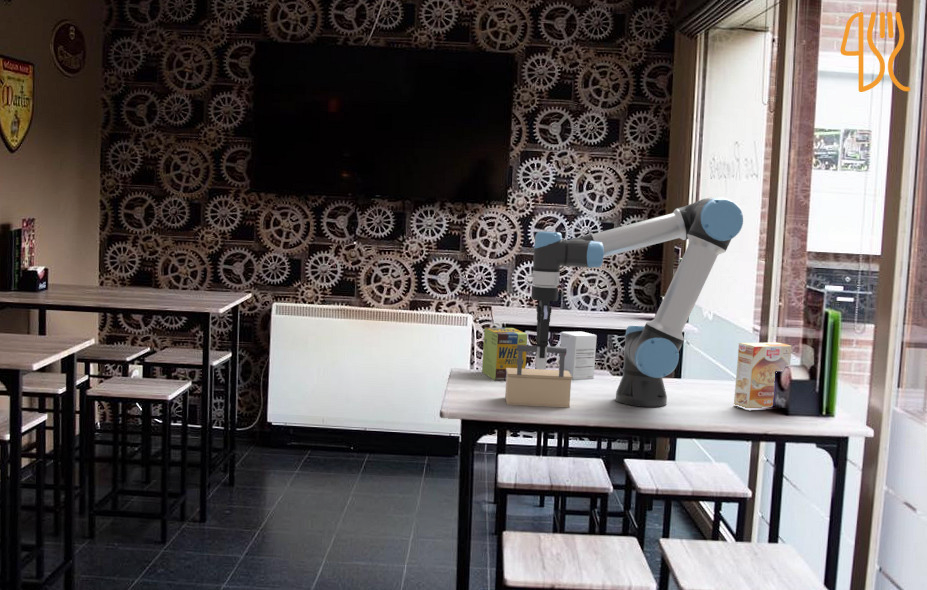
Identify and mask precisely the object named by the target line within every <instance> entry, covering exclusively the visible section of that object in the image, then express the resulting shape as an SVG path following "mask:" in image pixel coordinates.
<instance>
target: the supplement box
mask: <svg viewBox="0 0 927 590" xmlns="http://www.w3.org/2000/svg"><path fill="white" fill-rule="evenodd" d="M597 338H598V337H597V334H594V333H593V334H592V333H591V332H590V333H589V332H585V331H561V332H560V345H559V347H566V348H567V351H566V354H565V359H564V371H569V373H570V374H571V376H572V380H585V379H586V380H587V379H590V380H591V379H594V377H595V366H596V365H595V363H596V352H597V351H596V349H597ZM559 364H560V359H559V361H558V365H559Z"/></svg>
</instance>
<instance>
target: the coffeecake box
mask: <svg viewBox="0 0 927 590" xmlns="http://www.w3.org/2000/svg"><path fill="white" fill-rule="evenodd" d="M792 347H793V346H792V345H790V344H787V343H783V342H782V343H781V342H774V341H773V342H739V343H738V351H737V364H736V374H735V386H734V387H735V388H734V397H733V398H734V399H733V405H734V404H735V405H739V406H742V407H745V408H762V407H771V406H772V405H773V398H774V381H775V371H781V370H783V368H784V367H785V366H786V365H790V366H791V359H792V358H791V357H792ZM776 373H777V372H776Z"/></svg>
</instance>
